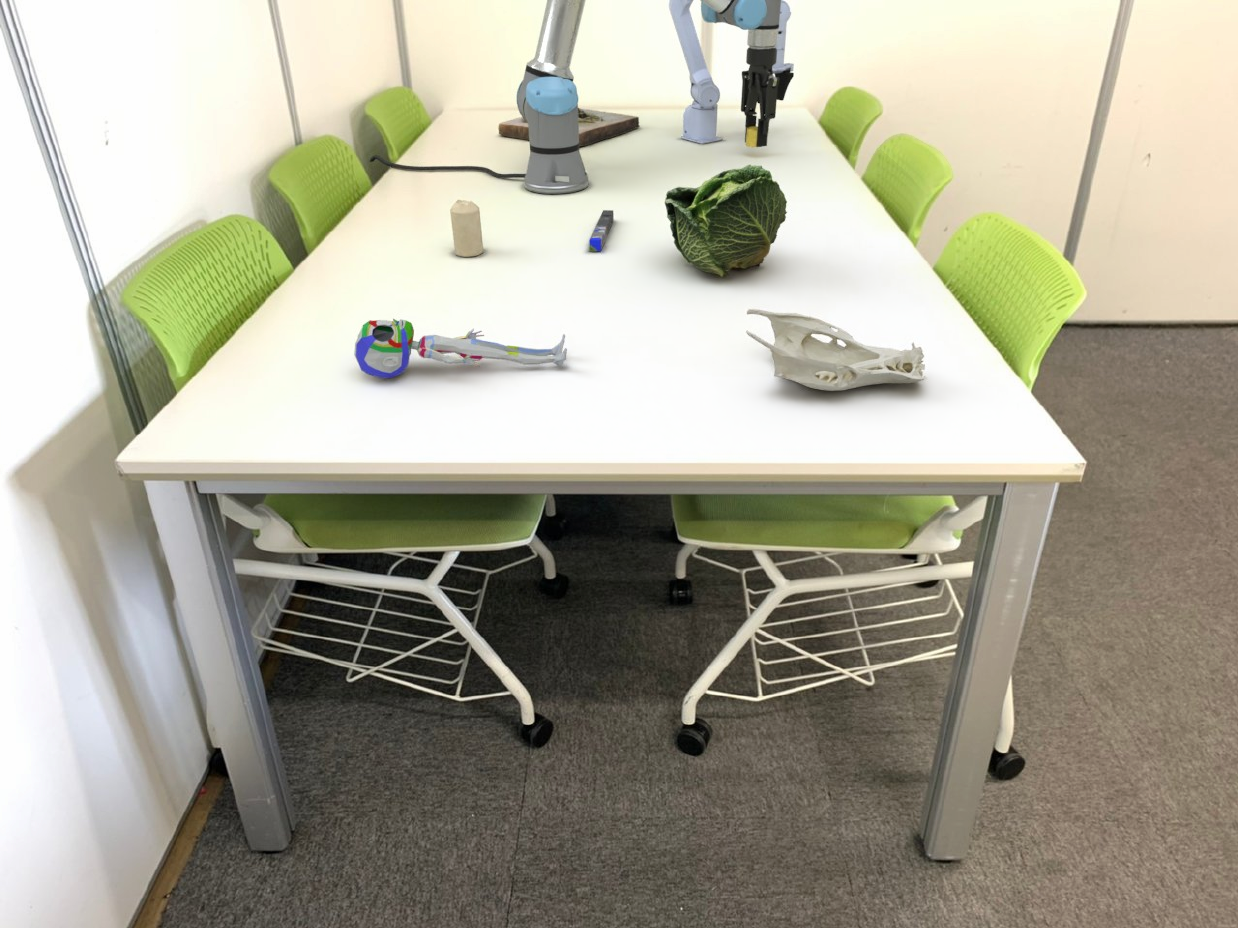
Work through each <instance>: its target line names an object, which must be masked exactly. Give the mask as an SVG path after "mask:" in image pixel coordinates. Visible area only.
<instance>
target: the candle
mask: <svg viewBox="0 0 1238 928" xmlns="http://www.w3.org/2000/svg"><path fill="white" fill-rule="evenodd" d="M449 212H450V213H449V214H450V222H451V228H452V231H451V232H452V239H453V247H454V253H455V255H457V256H459V257H465V258H466V257H467V258H468V257H475V256H479V255H481V254H483V252H484V242H483V234H482V233H483V232H482V231H483V230H482V222H481V221H482V220H481V212H480V207H479V205H478V204H476V203H475V202H474V201H472V200H470V201H468V200H465V199H464V200H462V199H457V200H456V201H455V202H454V203H453V205H452V206H451V207H450V209H449Z"/></svg>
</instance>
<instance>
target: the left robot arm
mask: <svg viewBox="0 0 1238 928" xmlns="http://www.w3.org/2000/svg"><path fill="white" fill-rule="evenodd" d="M586 1H587V0H546V4H545V9H544V12H543V13H544V14H543V18H542V22H541V27H540V32H539V37H538V40H537V46H536V50H535V53H534V57H533V58H532V59H531V60H529V61H528V62H526V65H525V70H524V74H523V79H522V81H521V82H520V83H519V86H518V88H517V91H516V105H517V109H518V111H519V114H520V116H521V117H523V119H524V120H525V121H526V122H527V123H528V127H529V140H528V142H529V157H528V162H527V168H526V172H525V173H499V172H496V171H494V170H492V169H490V168H489V167H484V166H477V165H439V166H438V165H437V166H436V165H433V166H416V165H415V166H414V165H405V164H400V163H399V164H398V163H394V162H389V161H387V160H385V159H384V158H383V157H382V156H380V155H376V154H375V155H373V156H371V157H370V159H369V162H370V163H373V162H375V160H377V161H379V162H380V163H382V164H383V165H385V166H387V167H391V168H396V169H400V170H406V171H407V170H409V171H479V172H485V173H488V174H490V175H491V176H493V177H494V178H499V179H500V178H501V179H524V180H523V183H524V188H525V189H526V190H527V191H530V192H531V193H535V194H536V193H537V194H543V195H544V194H545V195H562V194H570V193H576V192H579V191H583V190H584V189H586V188H587V187H589V175H588V173H587V171H586V168H585V164H584V161H583V158H582V156H581V153H580V147H579V124H578V108H579V95H578V89H577V86H576V84H575V83H574V79H575V76H574V74H573V73H572V70H571V63H572V59H573V55H574V51H575V47H576V43H577V40H578V39H577V38H578V34H579V30H580V25H581V21H582V18H583V13H584V9H585V5H586ZM780 8H781V0H700V13H701V18H702V20H703V21H704V22H705V23H711V24H718V23H719V24H721V23H725V24H727V25H730V26H734V27H737V28H739V29H741V30H743V31H747V37H746V39H747V40H746V44H747V46H748V48H747V49H746V57H745V58H746V60H745V61H746V62H745V63H746V64H747V65H749V67H748V69H747V70H742V71H741V80H742V83H741V98H740V99H741V101H740V111H741V113H744V116H745V124H744V127H745V130H744V131H745V132H744V143H745V144H746V134H747V128H748V127H753V126H757V127H758V131H757V147H756V148H762V147H767V146H768V135H769V131H770V120H773V119H775V118H776V115H777V101H778V100H777V89H778V84H779V81H780V79H779V77H775V75H774V74H773V71H772V66H773V65H774V64H776V61H777V48H775V46H777V45H778V30H779V18H780ZM758 95H759V102H760V104H759V116H760V118H757V117H758V116H757V115H758V112H757V111H756V109H757V104H758V103H757V100H758Z"/></svg>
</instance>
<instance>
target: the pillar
mask: <svg viewBox="0 0 1238 928" xmlns="http://www.w3.org/2000/svg"><path fill="white" fill-rule="evenodd" d="M614 216H615V215H614V210H613V209H612V210H611V209H602V212H601V214H600V216H599V219H598V221H597V222H596V225H595V227H594V229H593V231H592V234H591V236H590V237H589V241H588V243H589V244H588V245H589V246H588V247H589V248H588V250H589V252H601V251H602V249H603V247H604V245H605V242H606V239H607V237H608V235H609V232H610V231H611V228H612V226H613V223H614Z"/></svg>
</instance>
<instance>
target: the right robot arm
mask: <svg viewBox="0 0 1238 928" xmlns="http://www.w3.org/2000/svg"><path fill="white" fill-rule="evenodd" d="M693 2H694V0H669V1H668V9H669V12H670V15H671V19H672V22H673V25H674V29H675V32H676V35H677V38H678V41H679V45H680V47H681V50H682V54H683V57H684V60H685V63H686V66H687V69H688V73H689V82H690V89H689V90H690V91H689V92H690V96H691V98H692V99H693V101H692V103H691V104H689V105H688V106H686V108H685V109H684V111H683V116H682V118H683V119H682V136H681V135H680V139H681V140H684V141H685V140H686V141H689V142H692V143H693V142H694V143H697V144H702V145H704V144H709V143H713V142H718V141H719V142H720V141H722V140H723V139H724V138H723V137H721V136H717V130H718V129H717V127H718V103H719V101H720V98H721V91H720V88H719V87H718V85H716V84H715V83H714V81H713V78H712V75H711V73H710V71H709V69H708V66H707V63H706V59H705V55H704V54H703V50H702V46H701V44H700V40H699V37H698V33H697V30H696V26H695V24H694V21H693V16H692V13H691V11H690V8H691V5H692V4H693ZM791 15H792V11H791V8H790V5H789V3H788V2H786V1H785V0H781V8H780V18H779V30H778V45H777V46H775V48H777V61H776V64H774V65H773V66H772V71H773V75H774V77H779V79H780V81H779V84H778V89H777V101H781V102H782V101H784V99H785V96H786V93H787V90H788V87H789V85H790V84H791V81H792V80H793V78H794V74H795V73H794V66H795V65H794V63H790V62H787V63H786V62H785V54H786V53H785V51H786V39H787V24H788V21H789V20H790V18H791ZM757 104H759V105H760V102H759V95H758V100H757Z"/></svg>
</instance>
